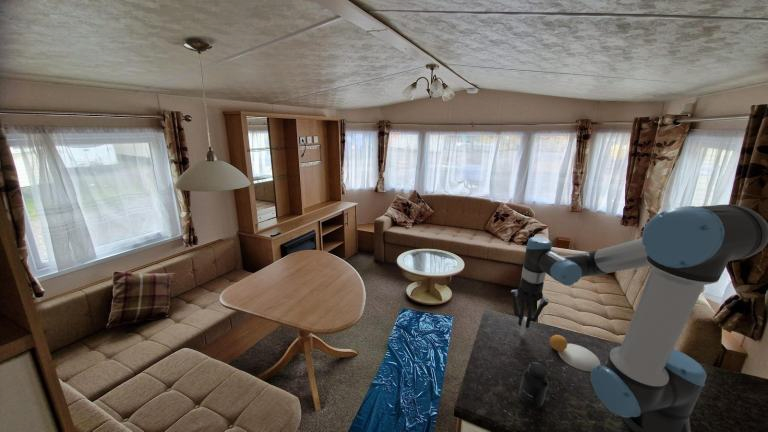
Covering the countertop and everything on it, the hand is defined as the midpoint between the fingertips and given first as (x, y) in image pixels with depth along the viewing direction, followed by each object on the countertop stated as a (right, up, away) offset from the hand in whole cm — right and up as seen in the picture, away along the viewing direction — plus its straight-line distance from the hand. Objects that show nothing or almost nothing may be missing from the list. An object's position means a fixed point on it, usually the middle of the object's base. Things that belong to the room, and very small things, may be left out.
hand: (522, 332), depth 119 cm
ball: (+11, -1, -6) cm, 12 cm away
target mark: (+16, -5, -9) cm, 19 cm away
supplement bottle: (-9, -11, -25) cm, 29 cm away
